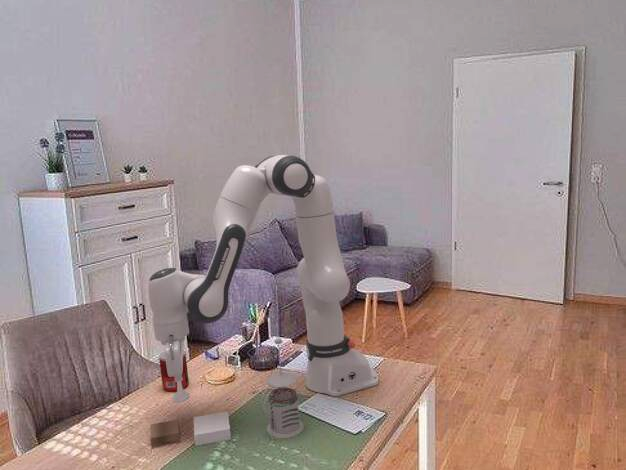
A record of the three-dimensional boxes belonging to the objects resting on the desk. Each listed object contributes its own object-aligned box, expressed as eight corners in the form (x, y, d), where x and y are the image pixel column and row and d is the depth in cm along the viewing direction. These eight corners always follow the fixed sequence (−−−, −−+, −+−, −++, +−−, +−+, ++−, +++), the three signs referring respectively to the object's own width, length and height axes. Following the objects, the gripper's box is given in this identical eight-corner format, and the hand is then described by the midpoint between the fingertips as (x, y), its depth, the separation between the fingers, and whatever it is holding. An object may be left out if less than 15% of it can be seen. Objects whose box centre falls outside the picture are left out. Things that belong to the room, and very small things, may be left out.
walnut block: (179, 429, 142) (177, 419, 142) (180, 443, 135) (178, 432, 135) (152, 434, 140) (150, 424, 140) (151, 449, 134) (150, 438, 133)
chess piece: (186, 403, 141) (181, 368, 139) (169, 402, 142) (164, 368, 140) (193, 394, 146) (189, 360, 144) (176, 393, 147) (172, 360, 145)
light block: (228, 421, 144) (227, 411, 143) (231, 439, 135) (230, 428, 134) (194, 427, 142) (193, 417, 141) (195, 446, 133) (194, 435, 133)
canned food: (192, 386, 165) (189, 354, 163) (167, 395, 161) (163, 361, 159) (183, 378, 171) (180, 346, 169) (159, 386, 167) (155, 353, 165)
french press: (311, 427, 138) (305, 337, 134) (276, 446, 131) (268, 351, 126) (288, 413, 146) (281, 328, 141) (253, 431, 138) (245, 341, 133)
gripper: (183, 341, 131) (190, 392, 134) (183, 315, 151) (190, 360, 153) (157, 346, 130) (165, 397, 132) (161, 318, 149) (168, 363, 152)
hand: (178, 377), depth 143 cm, fingers closed on chess piece
